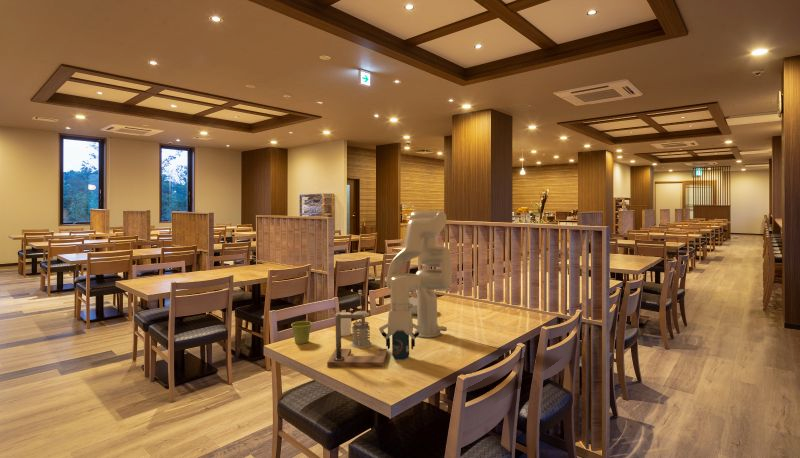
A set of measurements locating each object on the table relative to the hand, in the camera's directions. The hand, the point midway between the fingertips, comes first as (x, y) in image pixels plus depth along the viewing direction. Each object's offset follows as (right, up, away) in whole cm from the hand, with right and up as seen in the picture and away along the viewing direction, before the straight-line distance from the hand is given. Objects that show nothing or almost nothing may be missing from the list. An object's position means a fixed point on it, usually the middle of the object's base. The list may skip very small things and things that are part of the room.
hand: (400, 348), depth 178 cm
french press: (-18, -4, +17) cm, 25 cm away
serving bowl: (+8, 0, +76) cm, 76 cm away
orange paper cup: (-28, -3, +35) cm, 45 cm away
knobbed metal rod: (-20, -3, -7) cm, 21 cm away
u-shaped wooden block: (-17, -4, -2) cm, 18 cm away
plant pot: (-46, -4, +23) cm, 51 cm away
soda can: (0, -4, 0) cm, 4 cm away
